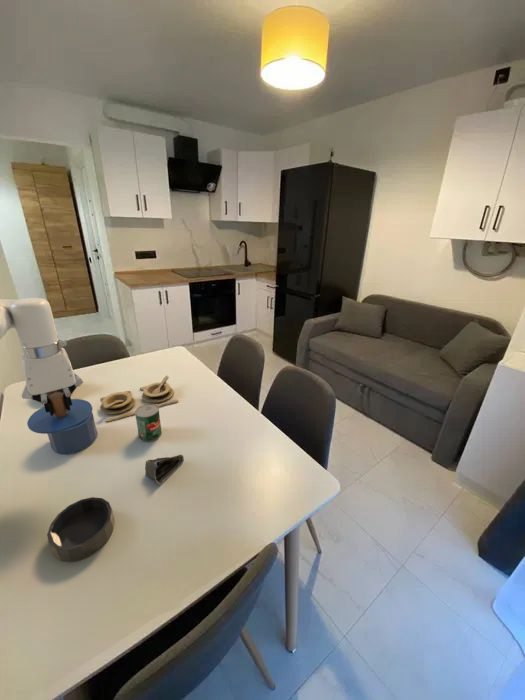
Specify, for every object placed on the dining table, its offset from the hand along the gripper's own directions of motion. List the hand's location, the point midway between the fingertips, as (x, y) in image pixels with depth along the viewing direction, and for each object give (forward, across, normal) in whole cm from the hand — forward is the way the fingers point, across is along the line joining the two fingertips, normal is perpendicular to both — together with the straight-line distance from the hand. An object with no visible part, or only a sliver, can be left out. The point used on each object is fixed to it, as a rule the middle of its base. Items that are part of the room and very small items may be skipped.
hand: (59, 410), depth 79 cm
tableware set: (+24, -28, -30) cm, 47 cm away
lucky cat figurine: (+24, -1, -56) cm, 61 cm away
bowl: (+24, +2, +21) cm, 32 cm away
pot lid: (+2, 0, 0) cm, 2 cm away
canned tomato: (+24, -24, -5) cm, 34 cm away
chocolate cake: (+24, -21, +13) cm, 35 cm away
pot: (+24, -2, -18) cm, 30 cm away
